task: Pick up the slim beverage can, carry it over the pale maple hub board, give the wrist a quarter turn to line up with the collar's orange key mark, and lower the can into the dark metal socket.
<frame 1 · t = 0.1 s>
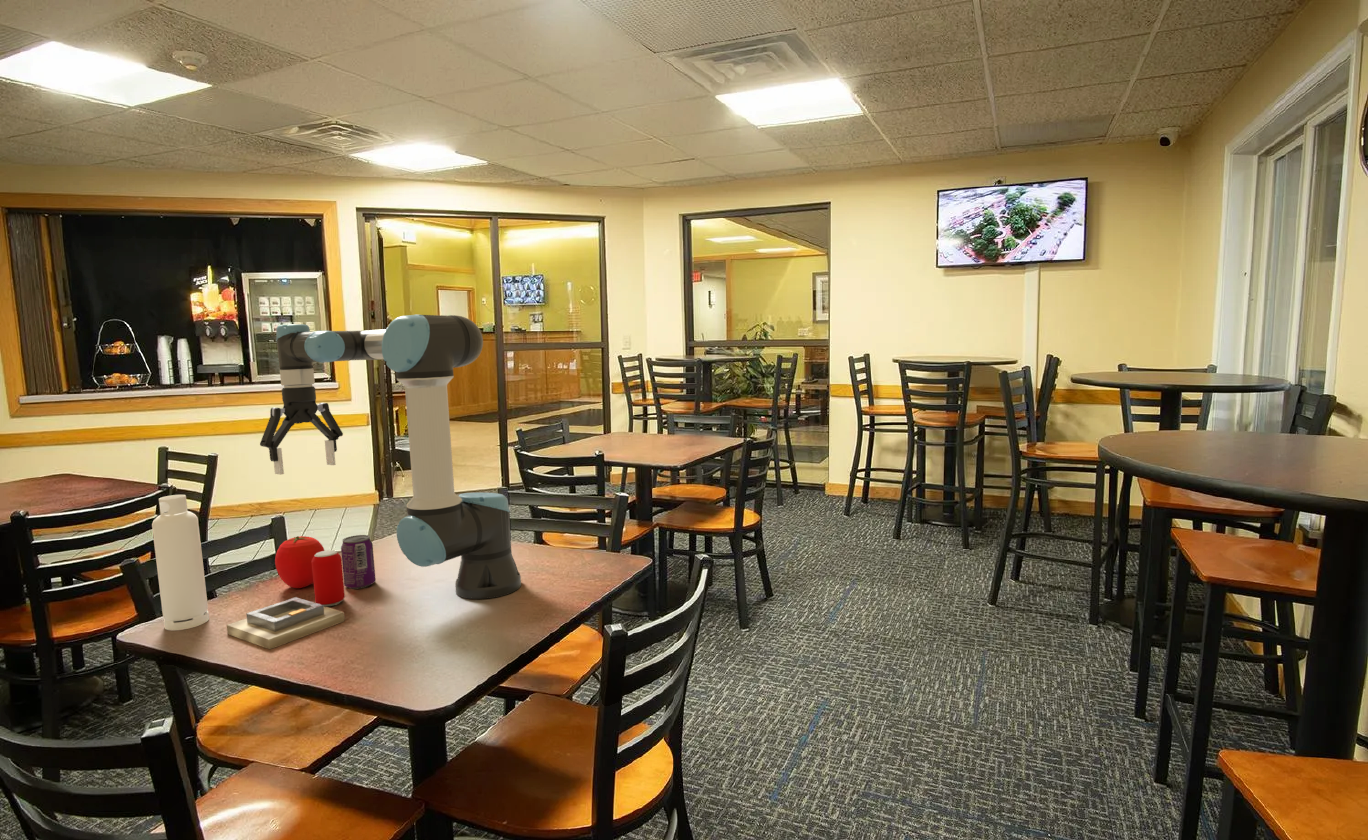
hand: (306, 469, 185), 28 cm above the table, fingers open, 13 cm apart
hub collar: (285, 613, 153), on the hub board, point 3 cm above the table
beverage can: (360, 586, 179), on the table
tomato: (302, 587, 180), on the table
beverage can 2: (330, 604, 167), on the table
hub board: (287, 627, 154), on the table
bottle: (187, 623, 158), on the table
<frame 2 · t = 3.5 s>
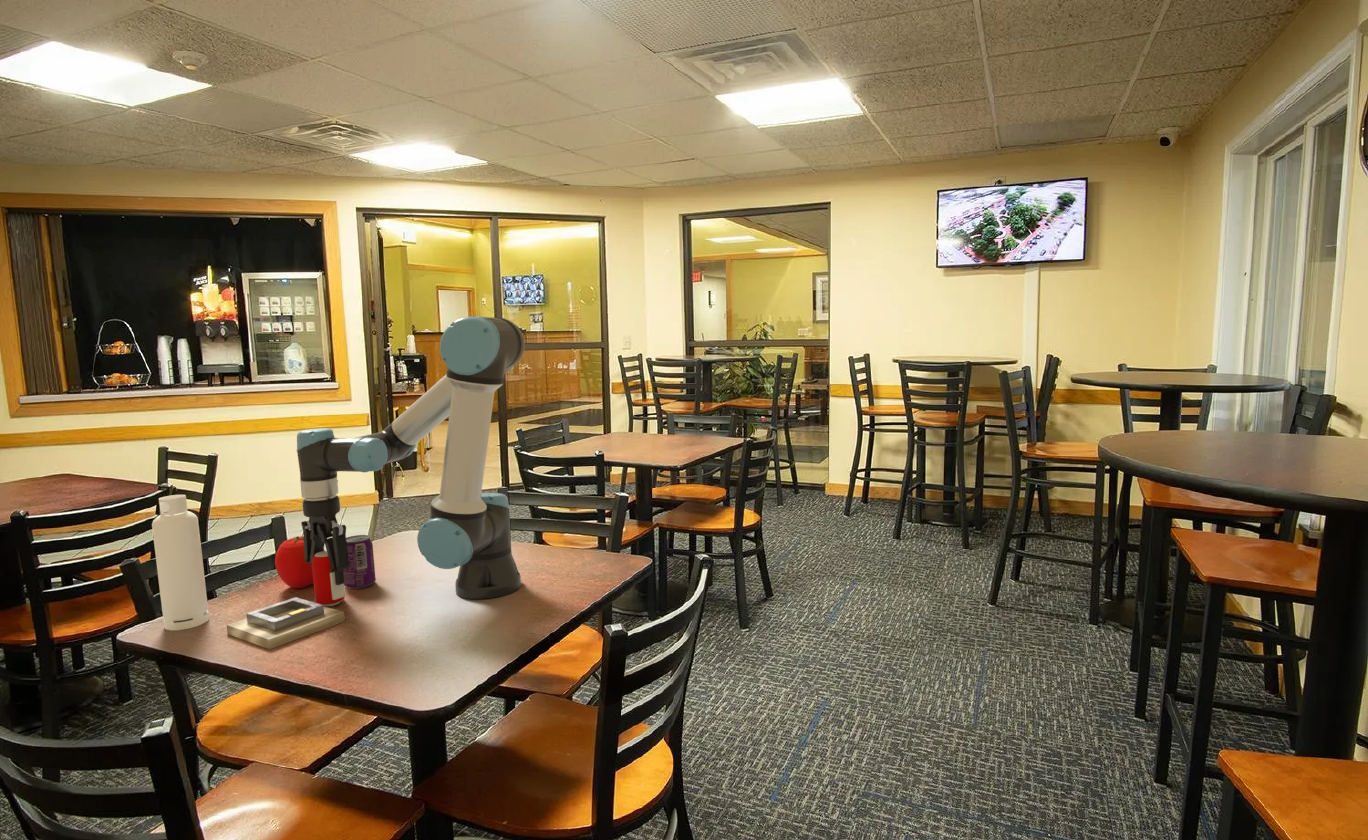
hand: (329, 595, 167), 2 cm above the table, fingers closed on beverage can 2, 6 cm apart
beverage can 2: (330, 604, 167), on the table, touching gripper
everything else where it was.
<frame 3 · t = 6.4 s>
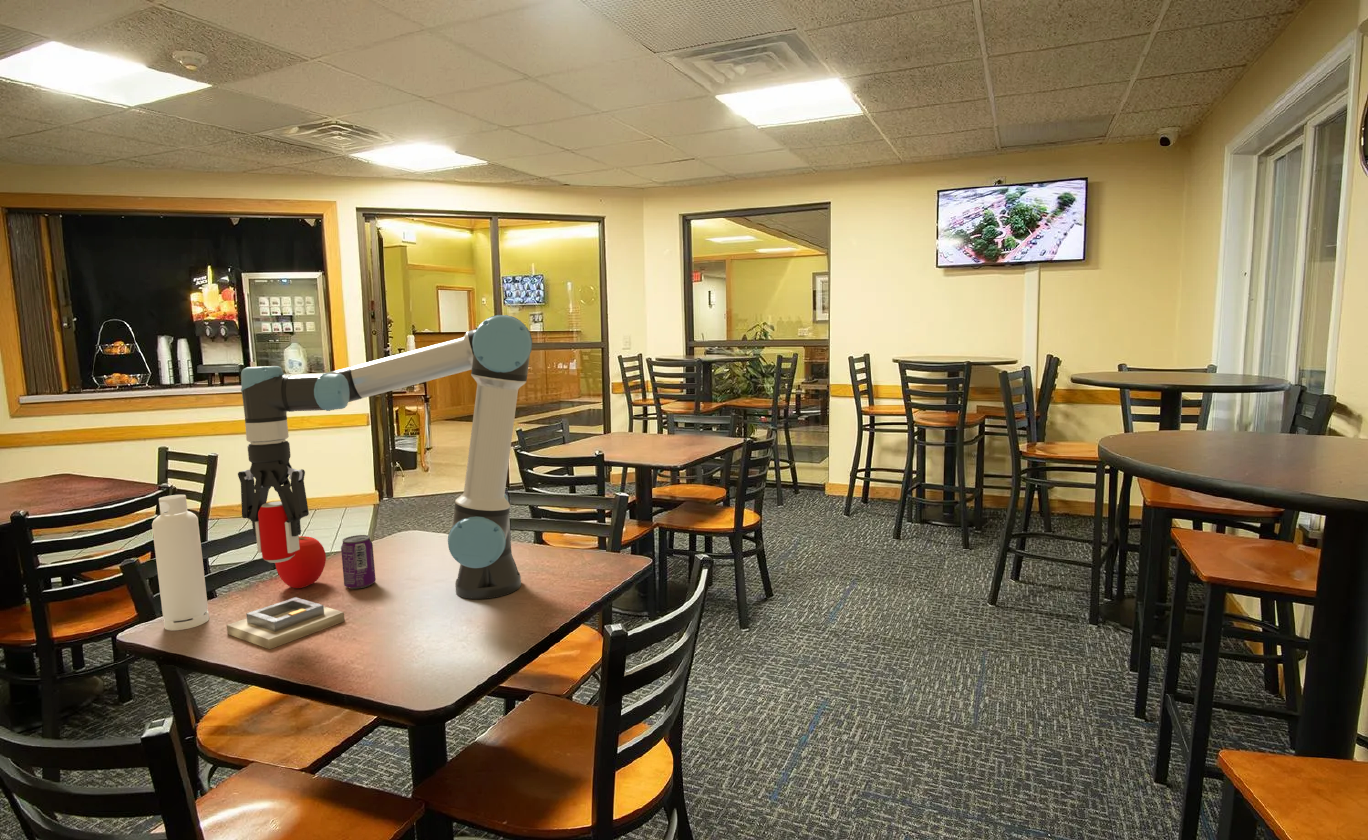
hand: (278, 550, 152), 17 cm above the table, fingers closed on beverage can 2, 6 cm apart
beverage can 2: (279, 560, 152), point 15 cm above the table, touching gripper
everything else where it was.
when the fingers open (6 cm above the table, at t = 9.1 s): beverage can 2 drops 2 cm, resting on hub board.
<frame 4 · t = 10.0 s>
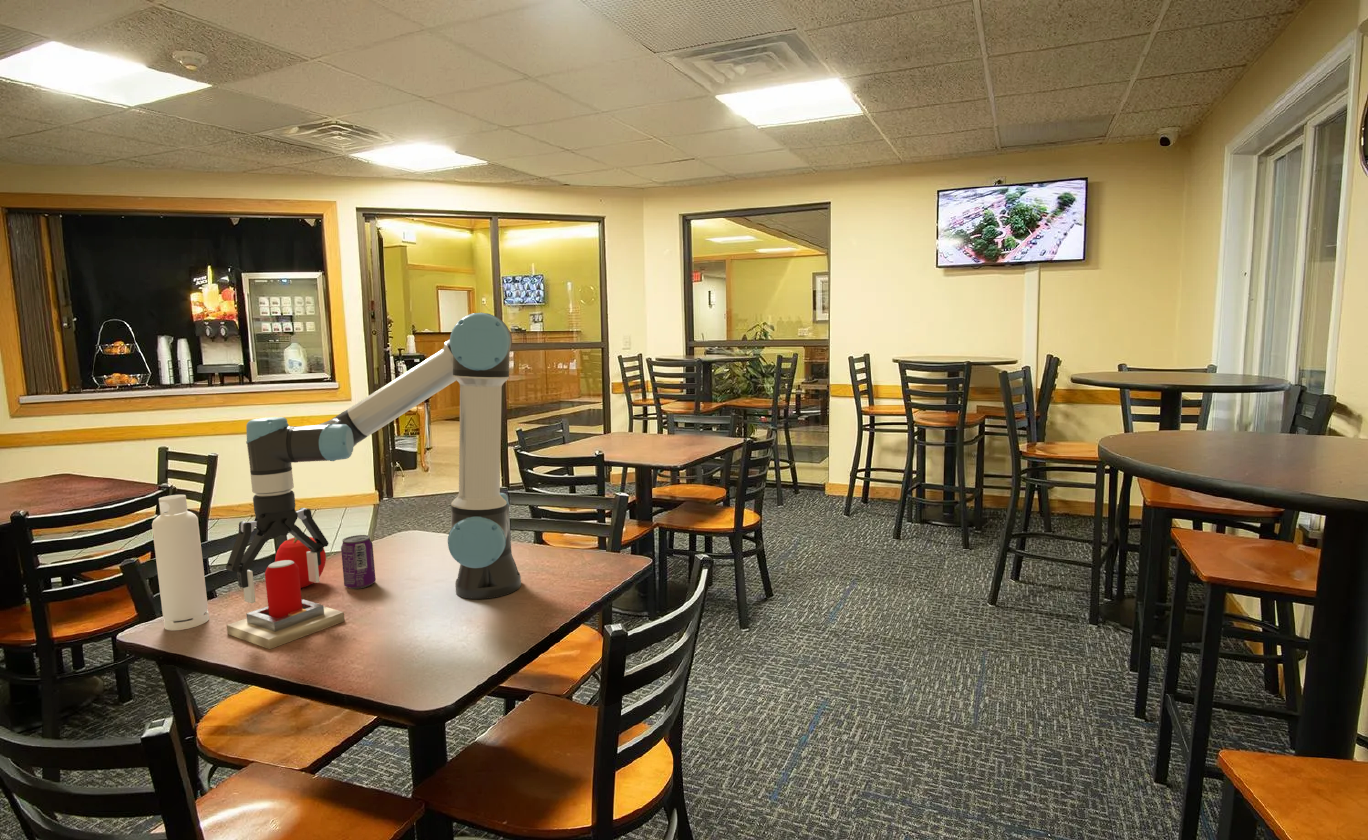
hand: (283, 591, 153), 8 cm above the table, fingers open, 13 cm apart
beverage can 2: (286, 619, 153), point 2 cm above the table, touching hub board
everything else where it was.
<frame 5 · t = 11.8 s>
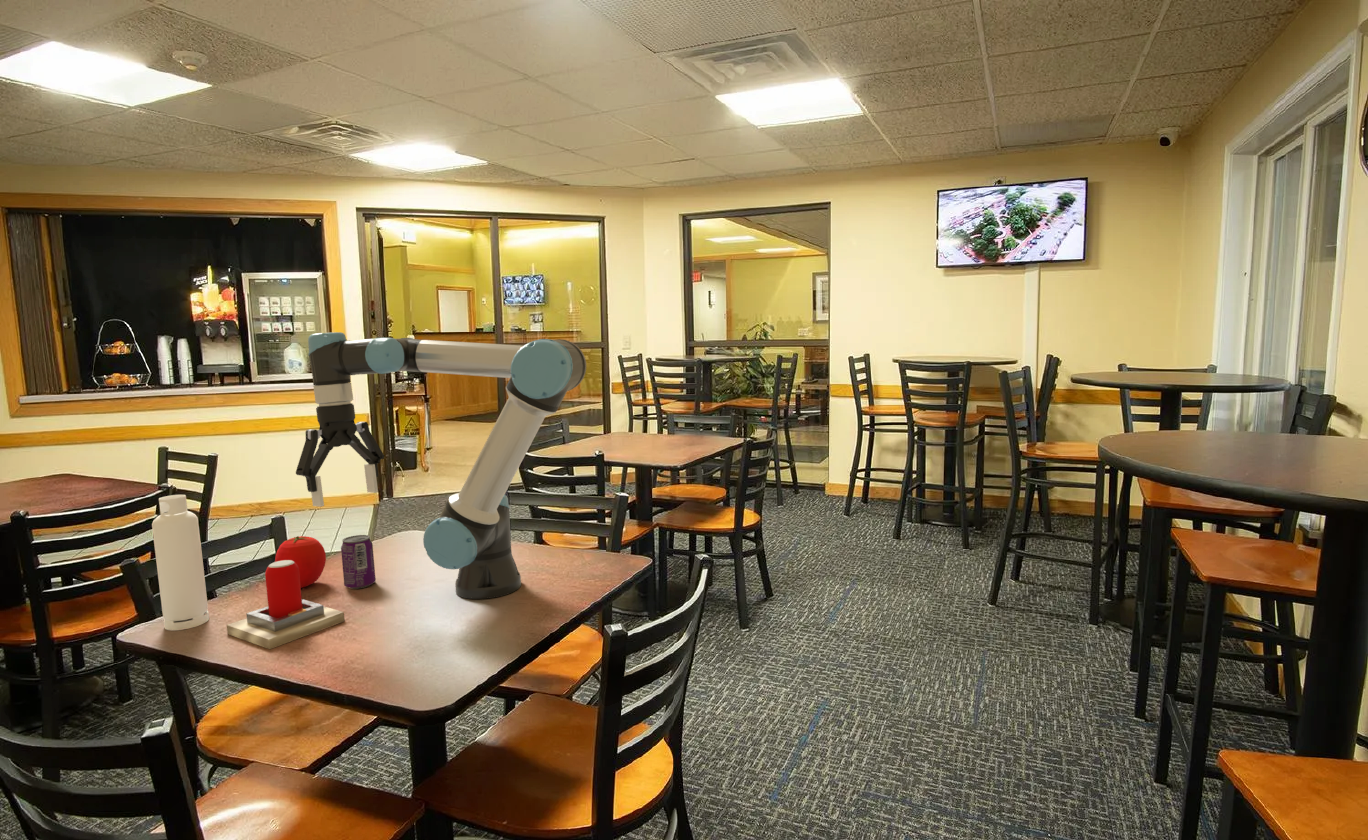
hand: (346, 499, 161), 25 cm above the table, fingers open, 13 cm apart
nothing on the table moved.
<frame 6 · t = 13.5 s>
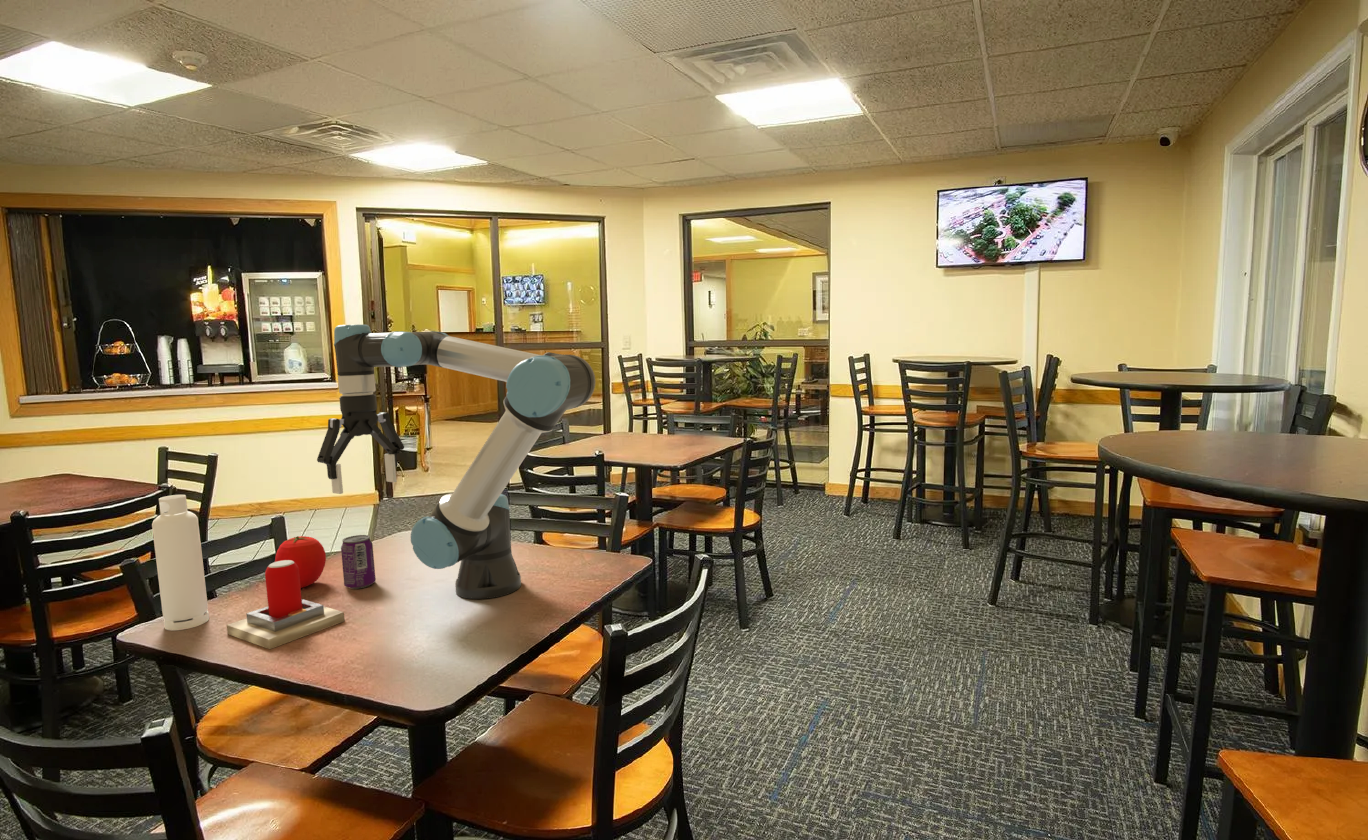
hand: (365, 487, 165), 27 cm above the table, fingers open, 13 cm apart
nothing on the table moved.
at the end: beverage can 2 0.1 cm off-centre on the hub board, point 1.8 cm above the hub board's base; beverage can 2 tilted 0°; the gripper is holding nothing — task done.
